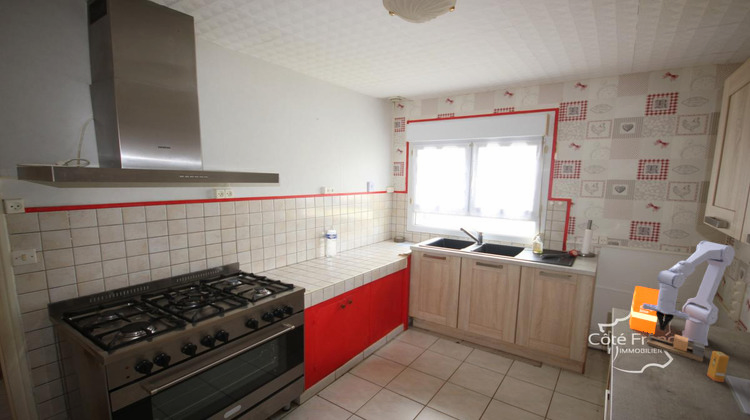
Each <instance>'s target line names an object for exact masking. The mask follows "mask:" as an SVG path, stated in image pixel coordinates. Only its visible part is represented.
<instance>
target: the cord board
mask: <svg viewBox="0 0 750 420" xmlns="http://www.w3.org/2000/svg"><path fill="white" fill-rule="evenodd" d="M673 343H674V341H671V340H667V339H665V338H661V337H657V336H655V335H653V334H651V333H648V336H647V341H646V345H647V344H648V345H647V346H650V345H651V347H653V346H654V347H653V348H658V349H660V350H662V351H667V352H669V353H673V354H677V355H679V356H682V357H685V358H687V359H692V360H696V361H698V362H702V363H703V362H704V354H705V350H706V348H705V345H704V343H701V342H698V341H694V342H692V344H693V345H692V347H691V346H689V345H688V346H687V351H683V350H680V349H676V348H673V345H674V344H673Z"/></svg>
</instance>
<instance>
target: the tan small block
mask: <svg viewBox="0 0 750 420" xmlns="http://www.w3.org/2000/svg"><path fill="white" fill-rule="evenodd" d="M673 342H674V343H673V344H674V345H673V348H676V349H680V350H683V351H687V346H688V347H689V341H688V338H687V337H683V336H682V335H679V334H674V339H673Z"/></svg>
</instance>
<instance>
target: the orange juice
mask: <svg viewBox="0 0 750 420" xmlns="http://www.w3.org/2000/svg"><path fill="white" fill-rule="evenodd" d="M646 287H647V286H639V285H636V286H635V288H634V292H633V297H632V302H631V307H630V316H629V322H628V323H629V329H631V330H636V331H640V332H643V331H644V333H647V332H648V334H651V333H653V334H652V335H655V333H656V327H657V325H656V322H657V315H656V312H657V311H653V310H649V309H643V303H646V304H652V305H657V302H658V295H659V290H656V289H657V288H655V289H651V288H652V287H649V288H646Z"/></svg>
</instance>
